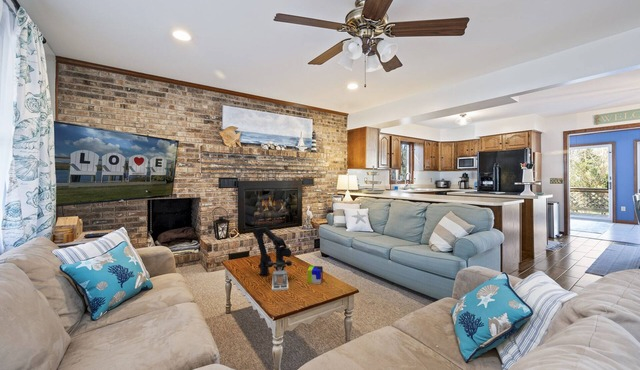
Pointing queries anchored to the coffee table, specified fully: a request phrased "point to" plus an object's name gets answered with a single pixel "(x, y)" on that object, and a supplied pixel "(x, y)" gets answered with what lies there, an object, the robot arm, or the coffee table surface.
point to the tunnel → (278, 273)
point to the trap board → (280, 285)
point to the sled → (280, 278)
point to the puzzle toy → (315, 274)
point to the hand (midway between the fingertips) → (279, 274)
